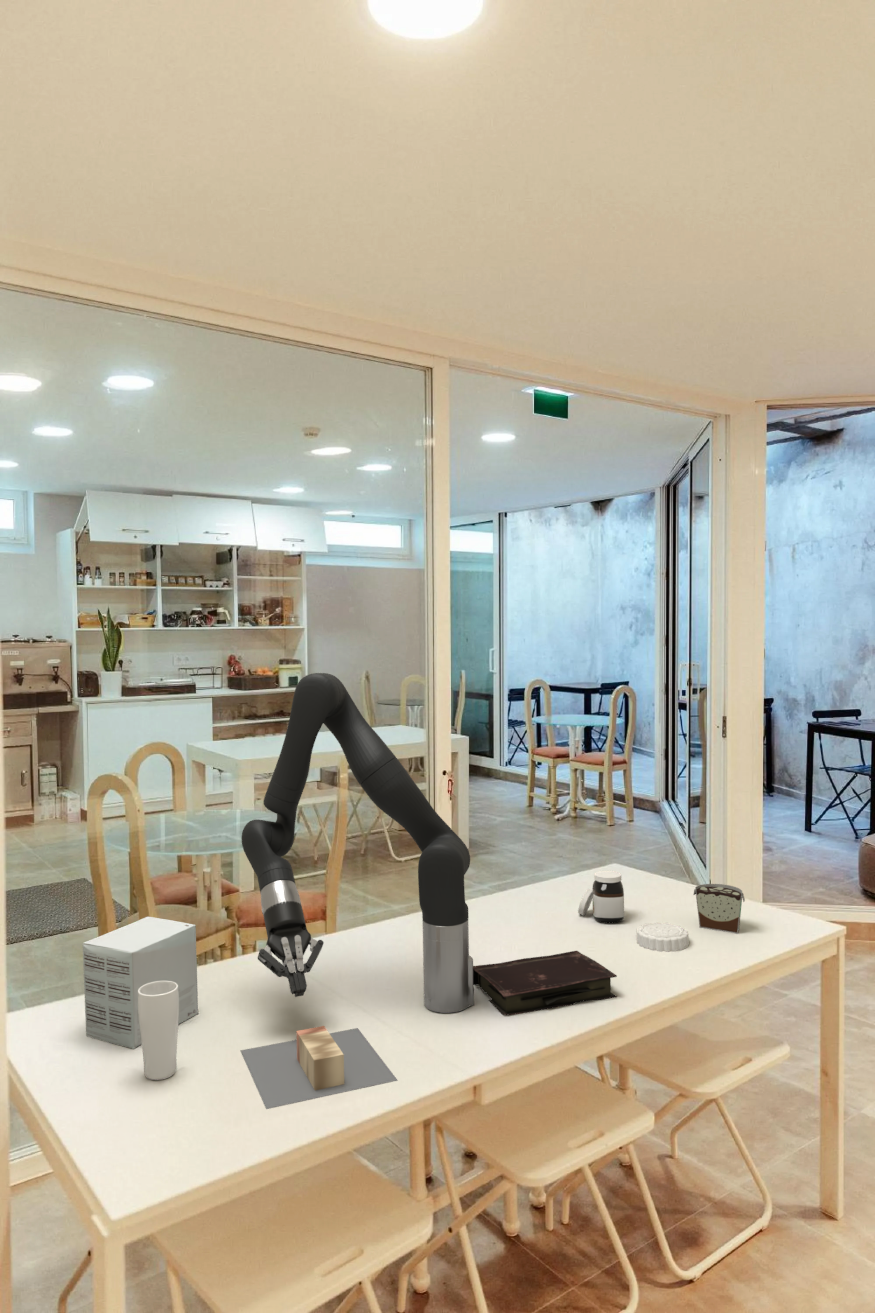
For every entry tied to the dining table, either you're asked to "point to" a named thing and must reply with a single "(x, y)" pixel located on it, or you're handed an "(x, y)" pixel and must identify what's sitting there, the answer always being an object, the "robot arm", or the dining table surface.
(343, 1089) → the rubber mat
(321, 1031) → the oak block
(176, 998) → the drinking glass
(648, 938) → the mooncake
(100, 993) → the supplement box
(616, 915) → the spread jar
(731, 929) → the food container
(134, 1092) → the dining table surface
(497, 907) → the dining table surface
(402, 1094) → the dining table surface
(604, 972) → the diary
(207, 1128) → the dining table surface
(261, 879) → the robot arm
